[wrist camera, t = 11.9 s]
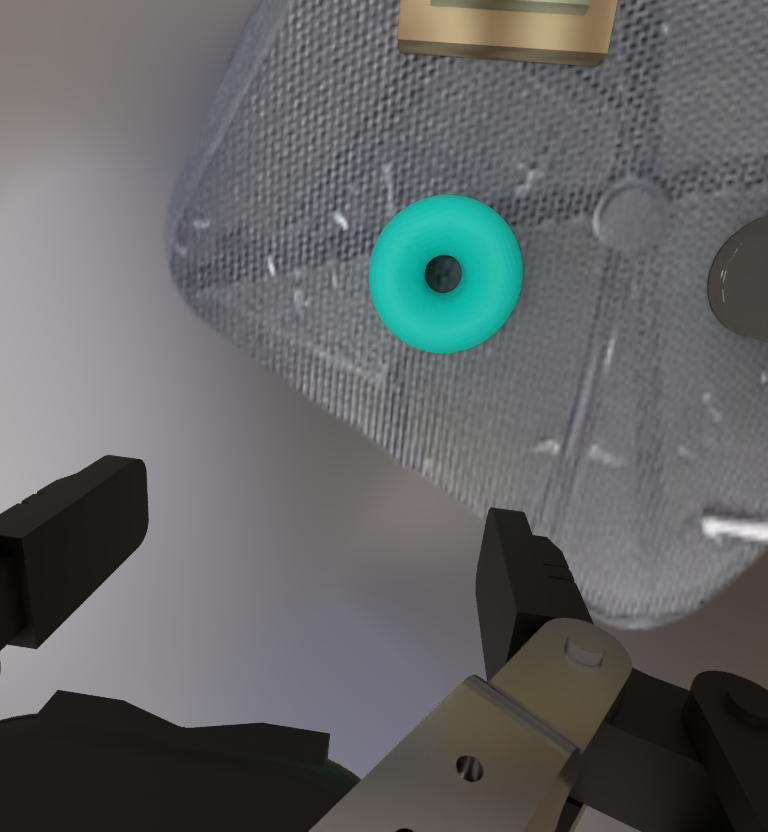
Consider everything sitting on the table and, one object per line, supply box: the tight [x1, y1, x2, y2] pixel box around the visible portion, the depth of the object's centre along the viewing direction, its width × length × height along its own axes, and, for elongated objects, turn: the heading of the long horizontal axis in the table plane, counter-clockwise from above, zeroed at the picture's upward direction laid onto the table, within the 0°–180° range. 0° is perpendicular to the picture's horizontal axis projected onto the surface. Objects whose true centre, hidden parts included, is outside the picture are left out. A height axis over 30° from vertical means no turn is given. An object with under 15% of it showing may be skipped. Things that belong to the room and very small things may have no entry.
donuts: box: [369, 194, 523, 353], centre depth 37 cm, size 10×10×10 cm
